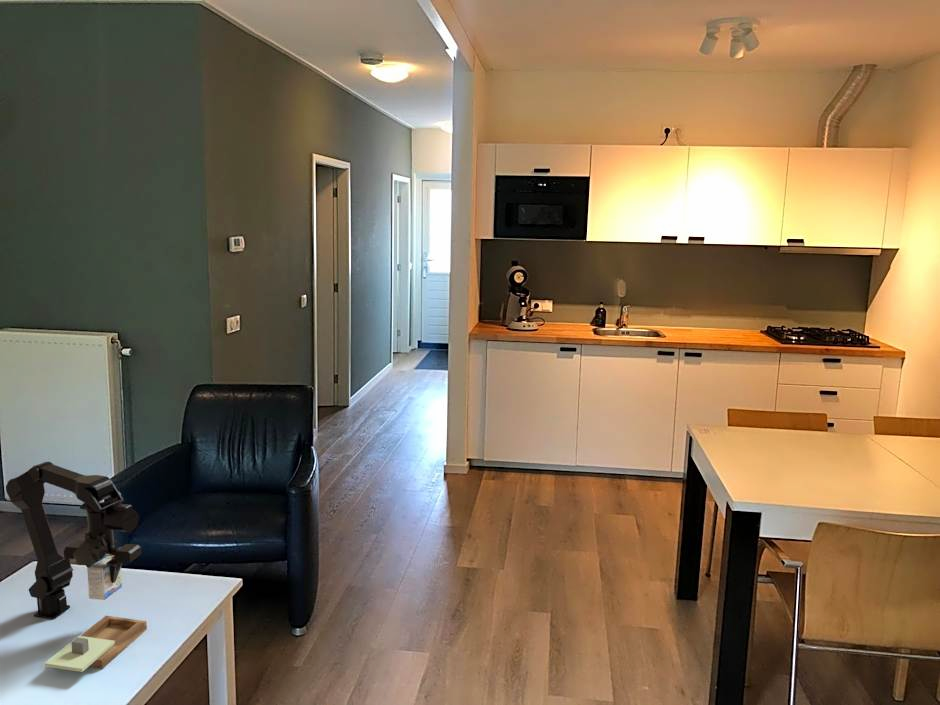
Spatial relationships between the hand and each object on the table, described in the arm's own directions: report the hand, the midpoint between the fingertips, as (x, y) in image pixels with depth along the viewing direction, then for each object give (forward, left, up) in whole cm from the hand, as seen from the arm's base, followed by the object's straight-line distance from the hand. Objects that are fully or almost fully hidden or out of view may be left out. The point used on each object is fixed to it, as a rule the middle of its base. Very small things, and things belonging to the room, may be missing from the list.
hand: (105, 581), depth 198 cm
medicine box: (0, 0, -3) cm, 3 cm away
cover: (+5, -16, -10) cm, 20 cm away
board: (+5, -8, -13) cm, 16 cm away
